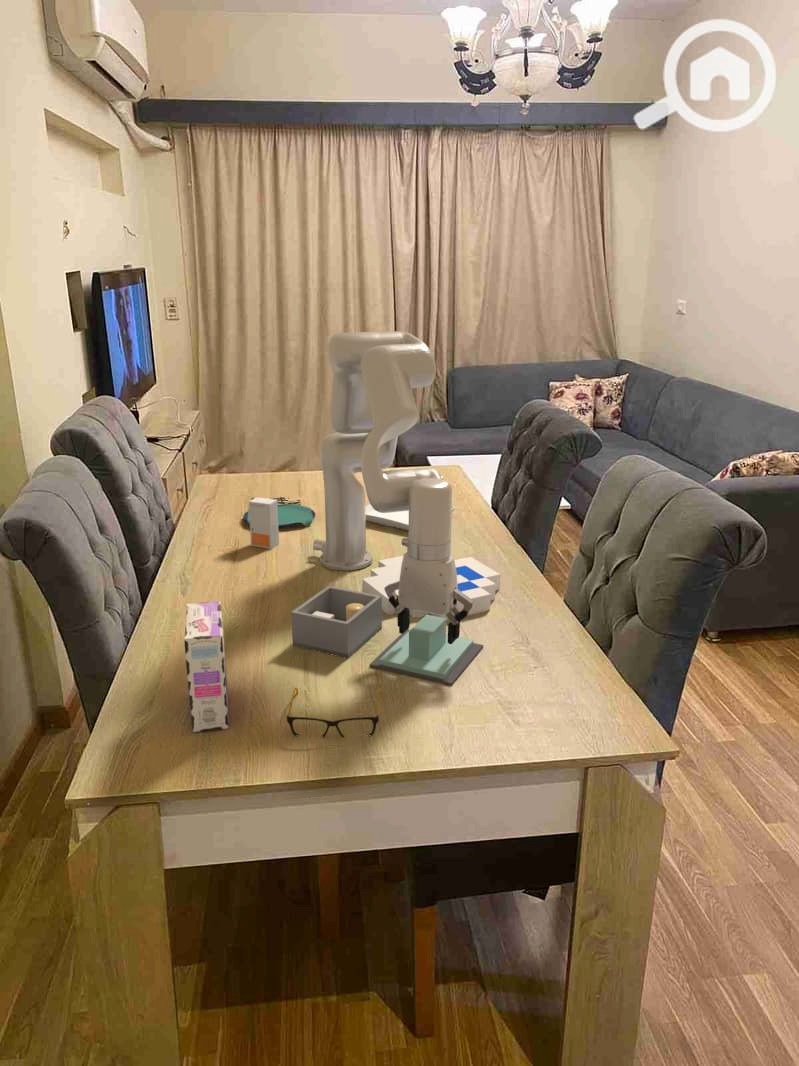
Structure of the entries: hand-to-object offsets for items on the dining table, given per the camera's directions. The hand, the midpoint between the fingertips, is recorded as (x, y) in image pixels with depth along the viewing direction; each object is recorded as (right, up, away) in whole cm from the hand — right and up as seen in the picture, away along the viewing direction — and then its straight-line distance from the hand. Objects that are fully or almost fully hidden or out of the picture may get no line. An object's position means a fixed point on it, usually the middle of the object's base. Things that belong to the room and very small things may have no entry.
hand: (428, 635), depth 151 cm
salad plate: (-4, +22, +78) cm, 82 cm away
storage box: (-17, -1, +9) cm, 19 cm away
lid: (0, -4, +1) cm, 4 cm away
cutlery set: (-39, +24, +82) cm, 94 cm away
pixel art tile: (+2, +5, +30) cm, 31 cm away
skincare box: (-39, +16, +58) cm, 71 cm away
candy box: (-36, -10, -16) cm, 41 cm away
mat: (0, -4, +1) cm, 4 cm away
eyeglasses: (-16, -11, -17) cm, 26 cm away
